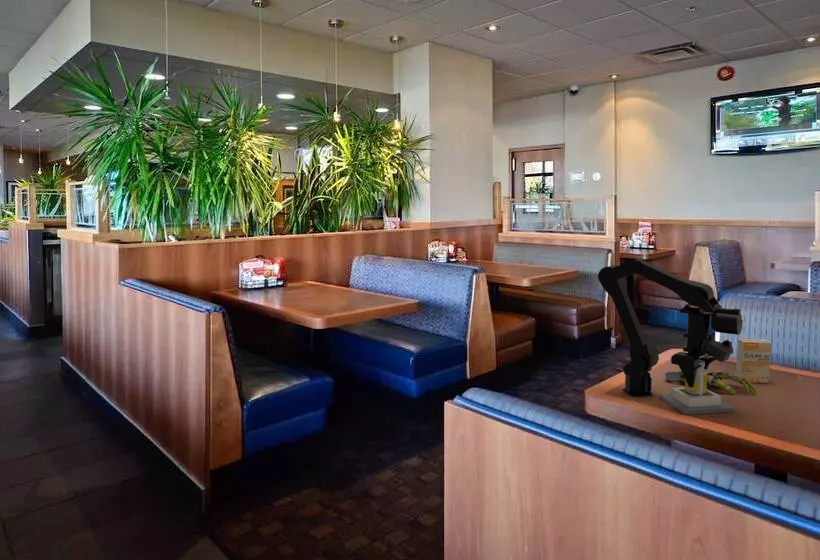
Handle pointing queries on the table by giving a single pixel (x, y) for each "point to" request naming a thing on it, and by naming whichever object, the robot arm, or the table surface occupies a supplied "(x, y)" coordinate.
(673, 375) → the robotic hand
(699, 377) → the supplement bottle
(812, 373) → the table surface
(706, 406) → the socket holder
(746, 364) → the supplement box
